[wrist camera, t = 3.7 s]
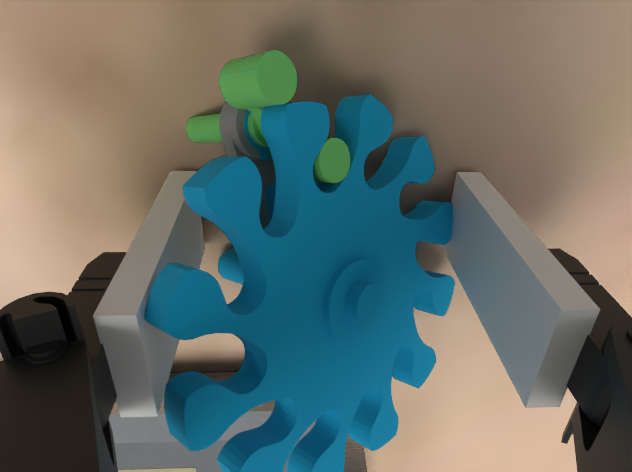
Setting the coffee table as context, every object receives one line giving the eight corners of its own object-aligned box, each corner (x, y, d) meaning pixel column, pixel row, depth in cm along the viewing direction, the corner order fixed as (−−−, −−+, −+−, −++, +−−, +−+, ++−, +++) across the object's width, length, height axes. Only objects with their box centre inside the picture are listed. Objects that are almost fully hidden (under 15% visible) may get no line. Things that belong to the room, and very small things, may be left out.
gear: (487, 350, 16) (275, 614, 10) (356, 311, 21) (152, 483, 15) (445, 2, 12) (47, 113, 6) (291, 41, 16) (-35, 130, 10)
